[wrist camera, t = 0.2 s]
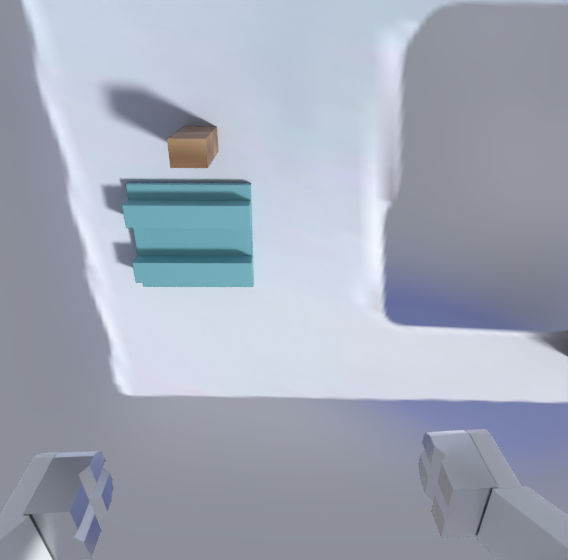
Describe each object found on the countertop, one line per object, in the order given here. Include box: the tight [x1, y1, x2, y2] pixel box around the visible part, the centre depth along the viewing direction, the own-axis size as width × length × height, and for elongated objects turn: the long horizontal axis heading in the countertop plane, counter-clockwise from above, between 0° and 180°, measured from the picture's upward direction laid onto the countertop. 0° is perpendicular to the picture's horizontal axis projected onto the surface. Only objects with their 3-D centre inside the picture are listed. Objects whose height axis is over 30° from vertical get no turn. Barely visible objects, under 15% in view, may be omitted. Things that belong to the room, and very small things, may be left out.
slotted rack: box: [122, 182, 254, 287], centre depth 57 cm, size 15×16×4 cm
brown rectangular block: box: [167, 126, 218, 168], centre depth 49 cm, size 3×4×9 cm
